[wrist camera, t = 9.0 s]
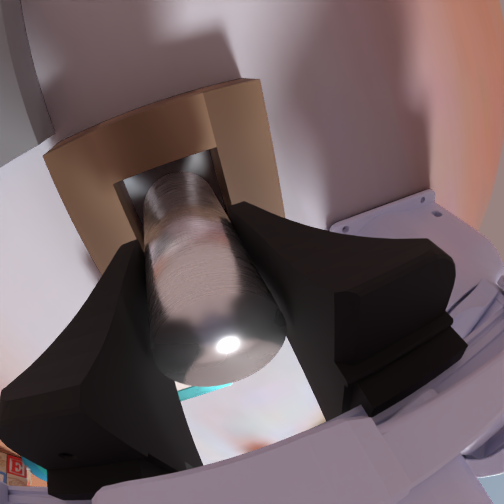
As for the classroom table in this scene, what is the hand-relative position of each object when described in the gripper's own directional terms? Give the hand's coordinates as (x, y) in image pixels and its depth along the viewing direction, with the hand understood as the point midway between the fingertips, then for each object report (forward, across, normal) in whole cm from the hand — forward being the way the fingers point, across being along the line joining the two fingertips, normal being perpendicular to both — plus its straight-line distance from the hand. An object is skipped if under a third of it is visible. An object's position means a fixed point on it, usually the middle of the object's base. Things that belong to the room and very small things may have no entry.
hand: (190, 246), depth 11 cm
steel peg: (+3, 0, 0) cm, 3 cm away
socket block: (+5, 0, 0) cm, 5 cm away
